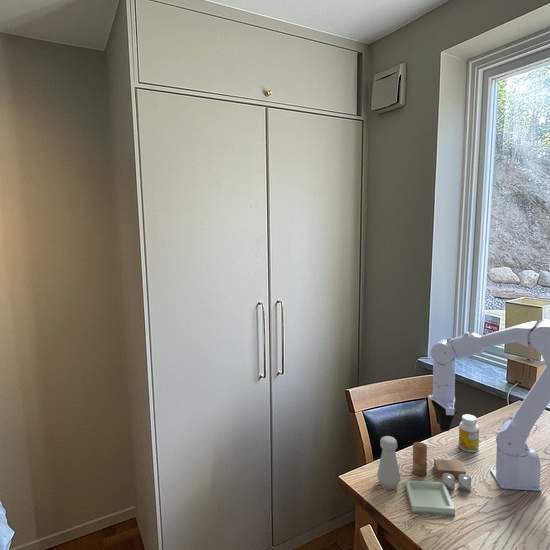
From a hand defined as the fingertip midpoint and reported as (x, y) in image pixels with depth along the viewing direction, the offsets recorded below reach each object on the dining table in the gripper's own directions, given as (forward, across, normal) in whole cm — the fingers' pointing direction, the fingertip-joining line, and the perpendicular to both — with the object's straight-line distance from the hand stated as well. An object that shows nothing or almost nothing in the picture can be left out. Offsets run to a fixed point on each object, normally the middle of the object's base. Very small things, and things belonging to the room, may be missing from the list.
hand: (443, 427), depth 115 cm
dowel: (+9, +8, -8) cm, 15 cm away
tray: (+9, +19, -8) cm, 23 cm away
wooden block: (+10, +7, 0) cm, 12 cm away
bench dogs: (+9, +14, 0) cm, 16 cm away
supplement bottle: (+10, -6, +9) cm, 14 cm away
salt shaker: (+10, +14, -17) cm, 24 cm away
